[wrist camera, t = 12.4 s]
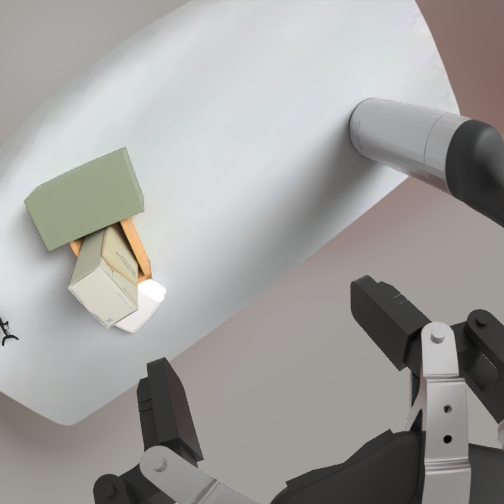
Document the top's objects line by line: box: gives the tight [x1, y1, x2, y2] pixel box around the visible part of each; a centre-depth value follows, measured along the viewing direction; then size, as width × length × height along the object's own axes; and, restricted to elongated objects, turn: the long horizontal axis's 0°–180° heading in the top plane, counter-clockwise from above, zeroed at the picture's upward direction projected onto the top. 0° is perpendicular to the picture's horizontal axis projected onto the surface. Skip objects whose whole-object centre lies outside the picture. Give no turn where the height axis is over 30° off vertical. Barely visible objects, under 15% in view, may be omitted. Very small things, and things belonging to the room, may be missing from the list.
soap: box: [114, 279, 166, 334], centre depth 41 cm, size 9×7×3 cm
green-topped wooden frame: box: [24, 147, 152, 283], centre depth 33 cm, size 12×15×5 cm
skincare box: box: [68, 222, 138, 329], centre depth 32 cm, size 6×4×12 cm
